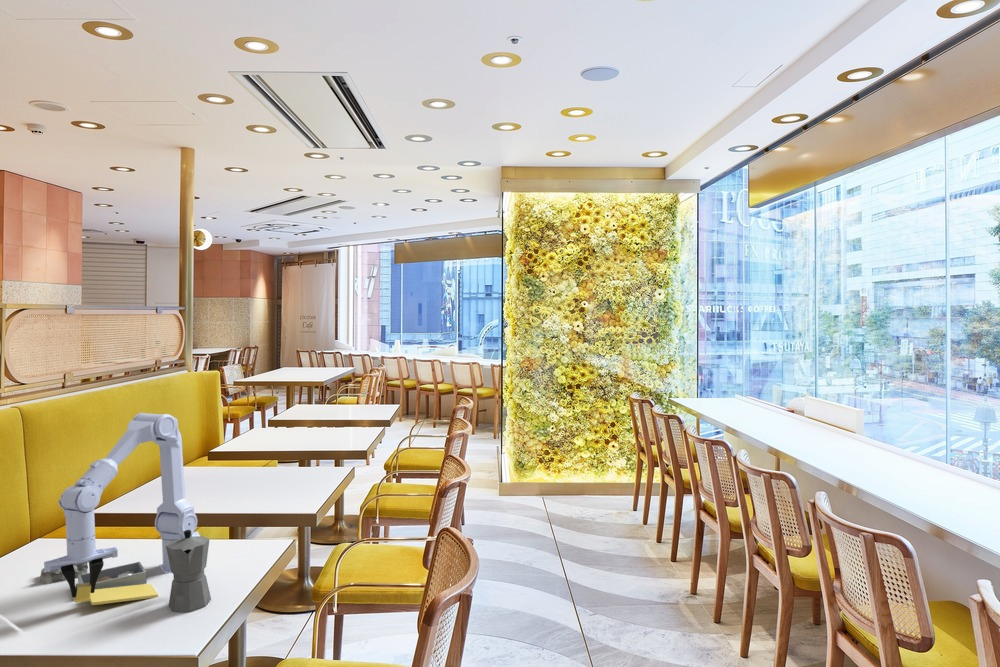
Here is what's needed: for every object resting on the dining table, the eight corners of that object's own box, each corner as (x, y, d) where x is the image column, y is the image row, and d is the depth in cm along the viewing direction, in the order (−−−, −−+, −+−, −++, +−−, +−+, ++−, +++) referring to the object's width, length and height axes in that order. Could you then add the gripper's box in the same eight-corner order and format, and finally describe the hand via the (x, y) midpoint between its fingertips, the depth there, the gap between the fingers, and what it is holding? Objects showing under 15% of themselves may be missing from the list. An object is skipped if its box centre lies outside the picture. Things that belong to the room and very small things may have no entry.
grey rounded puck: (132, 578, 174) (132, 569, 174) (135, 582, 171) (134, 573, 171) (116, 581, 172) (116, 573, 172) (119, 586, 169) (118, 577, 169)
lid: (149, 587, 169) (151, 572, 170) (157, 599, 162) (159, 583, 163) (71, 596, 159) (73, 580, 159) (76, 609, 152) (78, 591, 152)
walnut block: (107, 584, 170) (107, 575, 170) (112, 587, 169) (112, 578, 168) (90, 589, 167) (90, 581, 167) (95, 592, 165) (95, 583, 165)
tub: (139, 574, 178) (139, 561, 178) (146, 585, 171) (146, 571, 170) (78, 588, 169) (77, 575, 169) (82, 600, 162) (82, 586, 162)
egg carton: (39, 588, 170) (38, 572, 170) (41, 578, 177) (40, 563, 177) (88, 579, 176) (87, 563, 176) (88, 569, 182) (88, 555, 182)
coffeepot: (212, 611, 155) (209, 535, 154) (167, 620, 151) (164, 541, 150) (210, 587, 169) (208, 517, 168) (169, 594, 165) (166, 522, 164)
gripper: (113, 526, 164) (115, 580, 164) (41, 539, 154) (44, 597, 155) (118, 533, 158) (120, 589, 159) (44, 547, 149) (47, 607, 149)
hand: (83, 593), depth 156 cm, fingers closed on lid, 3 cm apart
